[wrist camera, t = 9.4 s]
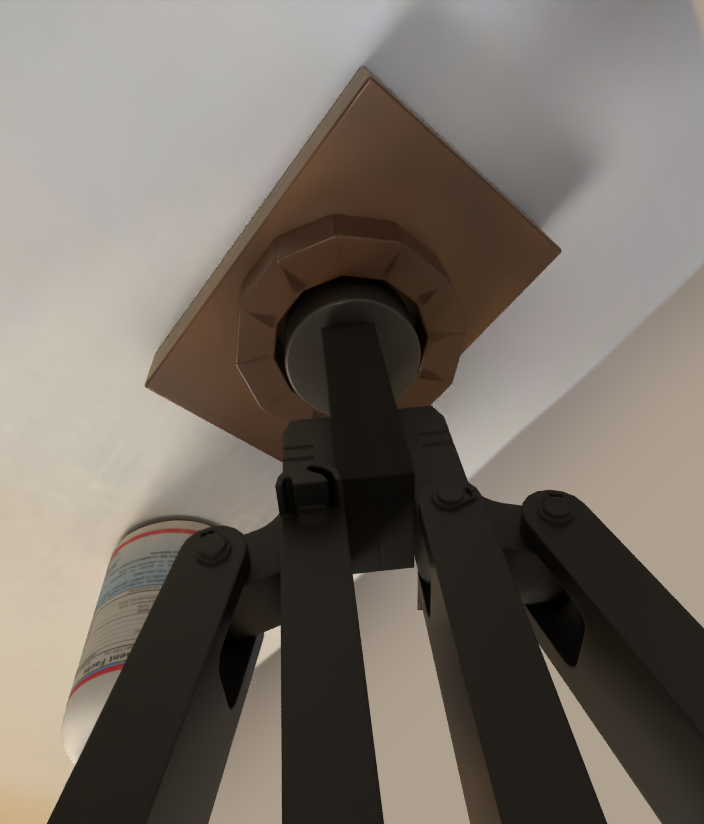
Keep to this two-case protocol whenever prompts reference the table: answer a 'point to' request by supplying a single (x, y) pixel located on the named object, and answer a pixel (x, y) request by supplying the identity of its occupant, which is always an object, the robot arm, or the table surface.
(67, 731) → the pill bottle
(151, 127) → the table surface
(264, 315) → the block
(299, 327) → the bell button
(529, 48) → the table surface
